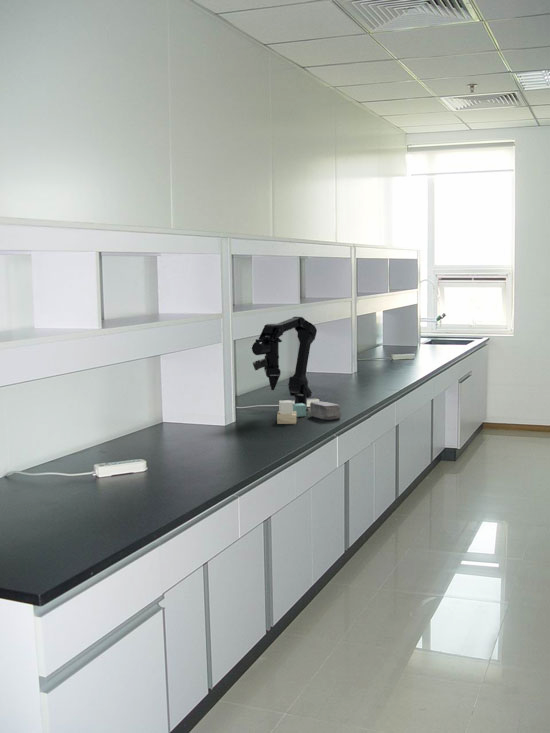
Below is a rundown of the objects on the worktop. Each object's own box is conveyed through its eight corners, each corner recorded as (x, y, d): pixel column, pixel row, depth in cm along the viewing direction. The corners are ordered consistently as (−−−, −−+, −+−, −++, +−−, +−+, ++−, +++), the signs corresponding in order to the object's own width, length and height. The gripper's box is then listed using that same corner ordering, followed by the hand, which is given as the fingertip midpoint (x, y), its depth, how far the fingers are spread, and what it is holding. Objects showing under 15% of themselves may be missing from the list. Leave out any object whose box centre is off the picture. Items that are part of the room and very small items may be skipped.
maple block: (277, 420, 349) (277, 411, 349) (296, 420, 349) (296, 411, 349) (277, 424, 342) (277, 415, 341) (296, 424, 341) (296, 415, 341)
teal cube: (291, 414, 361) (291, 403, 360) (302, 414, 362) (302, 403, 362) (295, 416, 356) (295, 405, 355) (306, 416, 358) (306, 405, 357)
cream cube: (279, 412, 347) (279, 400, 346) (290, 411, 348) (290, 400, 347) (281, 414, 342) (281, 402, 342) (292, 414, 343) (292, 402, 342)
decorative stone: (333, 422, 345) (344, 417, 354) (333, 406, 344) (344, 402, 352) (304, 419, 353) (315, 414, 362) (303, 403, 352) (315, 399, 360)
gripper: (252, 350, 361) (253, 385, 364) (254, 355, 343) (254, 392, 345) (277, 350, 362) (277, 385, 364) (280, 355, 344) (280, 392, 346)
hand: (272, 388), depth 355 cm, fingers open, 9 cm apart
